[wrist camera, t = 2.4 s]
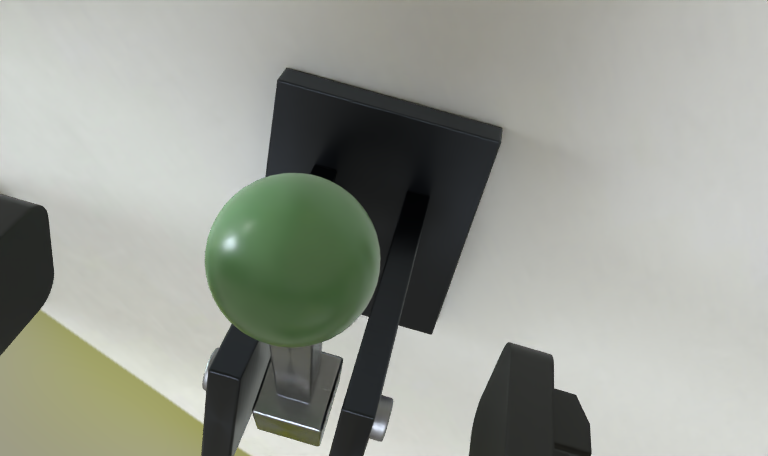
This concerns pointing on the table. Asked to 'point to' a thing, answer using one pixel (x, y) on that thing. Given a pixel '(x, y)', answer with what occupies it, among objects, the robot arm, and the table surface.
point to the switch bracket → (391, 222)
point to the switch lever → (293, 288)
